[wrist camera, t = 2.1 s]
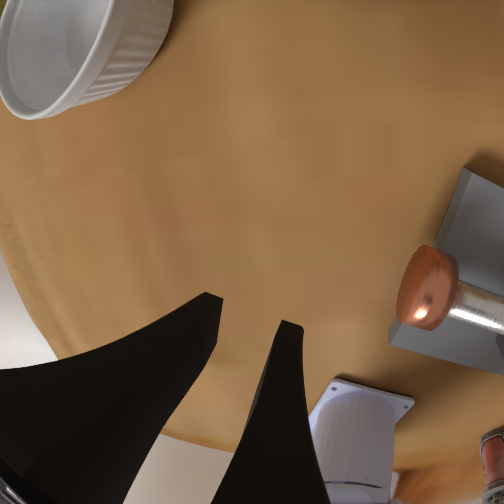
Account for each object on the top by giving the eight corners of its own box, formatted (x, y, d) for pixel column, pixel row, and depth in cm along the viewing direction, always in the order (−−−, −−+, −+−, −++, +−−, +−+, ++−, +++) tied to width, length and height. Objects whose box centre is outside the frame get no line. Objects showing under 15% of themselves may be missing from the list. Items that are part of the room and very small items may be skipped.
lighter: (504, 450, 21) (508, 516, 13) (481, 459, 23) (482, 525, 15) (504, 424, 20) (513, 502, 11) (477, 435, 22) (481, 514, 13)
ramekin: (92, -46, 13) (29, -60, 7) (225, -47, 12) (164, -94, 6) (47, 88, 20) (-17, 100, 14) (153, 129, 19) (75, 149, 13)
